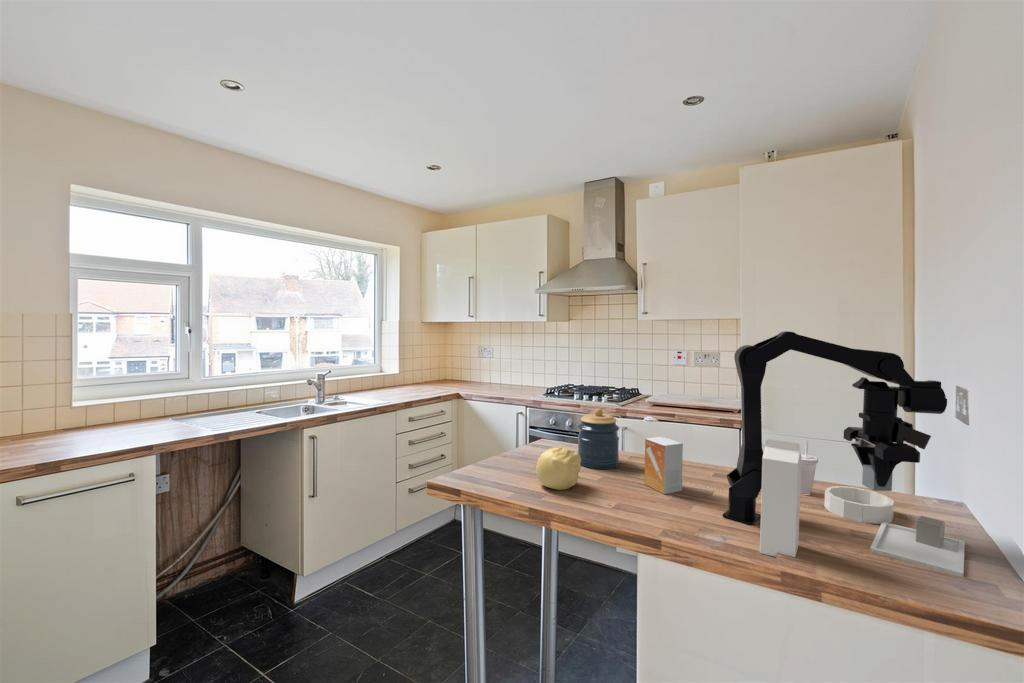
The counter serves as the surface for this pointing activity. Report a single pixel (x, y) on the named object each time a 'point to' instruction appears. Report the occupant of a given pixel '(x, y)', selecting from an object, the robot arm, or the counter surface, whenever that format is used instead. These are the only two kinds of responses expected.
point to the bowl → (859, 504)
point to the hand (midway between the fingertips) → (876, 483)
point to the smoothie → (807, 471)
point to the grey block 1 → (874, 480)
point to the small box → (663, 464)
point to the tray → (919, 549)
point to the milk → (780, 498)
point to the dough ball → (558, 468)
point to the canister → (598, 441)
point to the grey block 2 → (930, 531)
